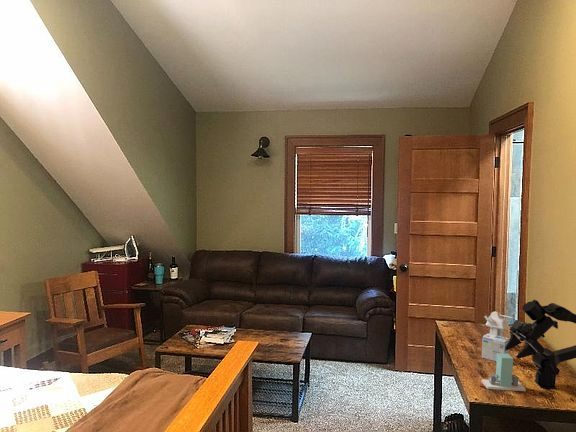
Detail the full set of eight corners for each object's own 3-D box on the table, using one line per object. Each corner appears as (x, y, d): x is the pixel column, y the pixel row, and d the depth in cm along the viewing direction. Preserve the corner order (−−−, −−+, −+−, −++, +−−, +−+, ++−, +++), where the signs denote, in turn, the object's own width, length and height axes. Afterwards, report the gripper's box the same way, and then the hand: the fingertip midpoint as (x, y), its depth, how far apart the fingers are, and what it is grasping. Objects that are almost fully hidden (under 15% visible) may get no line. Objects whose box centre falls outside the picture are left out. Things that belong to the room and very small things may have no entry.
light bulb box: (509, 360, 221) (510, 338, 220) (504, 364, 216) (505, 341, 215) (486, 354, 228) (487, 332, 227) (480, 357, 223) (482, 335, 222)
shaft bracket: (518, 383, 195) (519, 373, 195) (525, 391, 188) (526, 380, 188) (481, 381, 196) (482, 371, 196) (487, 388, 189) (488, 378, 189)
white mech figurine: (506, 353, 229) (509, 317, 228) (479, 346, 238) (481, 312, 237) (514, 347, 238) (516, 313, 237) (487, 340, 247) (489, 307, 246)
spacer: (506, 381, 195) (508, 353, 194) (511, 387, 189) (513, 358, 188) (495, 380, 195) (497, 353, 194) (500, 386, 190) (501, 357, 189)
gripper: (514, 307, 201) (488, 332, 202) (538, 321, 182) (509, 348, 183) (531, 325, 202) (505, 350, 202) (557, 340, 183) (528, 367, 184)
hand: (511, 353), depth 193 cm, fingers open, 9 cm apart
